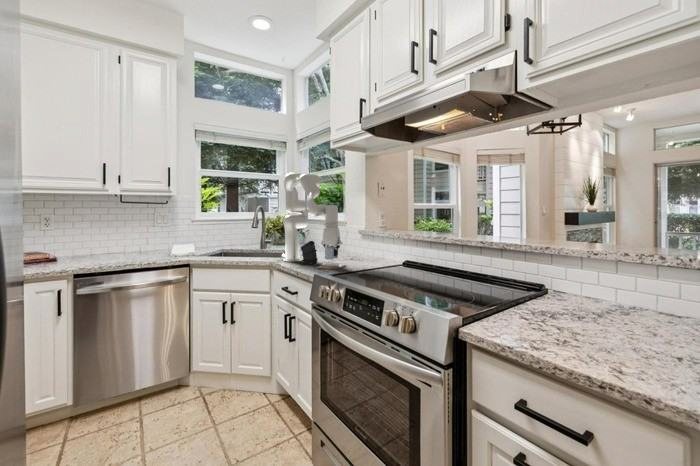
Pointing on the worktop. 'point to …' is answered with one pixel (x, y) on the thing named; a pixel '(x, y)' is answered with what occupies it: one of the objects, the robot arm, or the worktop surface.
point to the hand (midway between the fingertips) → (331, 255)
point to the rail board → (331, 266)
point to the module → (330, 252)
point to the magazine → (309, 253)
